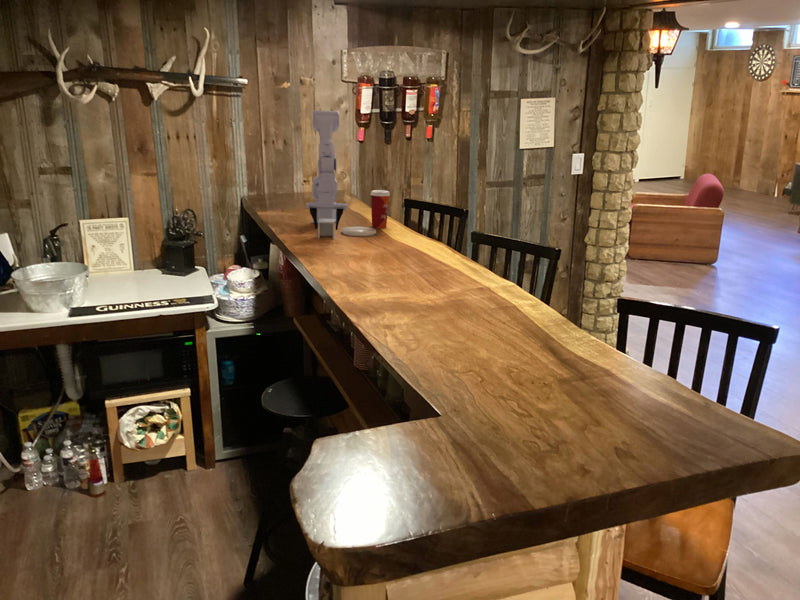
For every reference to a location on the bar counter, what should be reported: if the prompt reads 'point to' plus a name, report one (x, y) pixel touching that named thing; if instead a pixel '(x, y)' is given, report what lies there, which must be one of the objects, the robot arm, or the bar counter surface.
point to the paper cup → (379, 208)
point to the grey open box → (326, 227)
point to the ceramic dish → (358, 231)
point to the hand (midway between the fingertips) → (326, 229)
